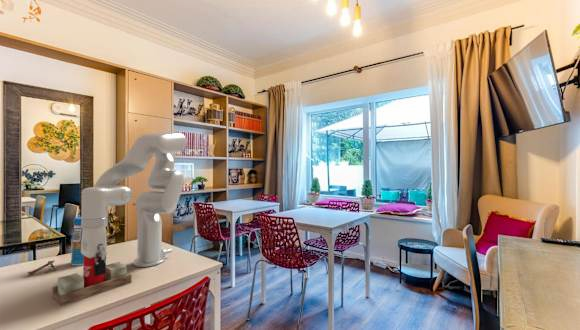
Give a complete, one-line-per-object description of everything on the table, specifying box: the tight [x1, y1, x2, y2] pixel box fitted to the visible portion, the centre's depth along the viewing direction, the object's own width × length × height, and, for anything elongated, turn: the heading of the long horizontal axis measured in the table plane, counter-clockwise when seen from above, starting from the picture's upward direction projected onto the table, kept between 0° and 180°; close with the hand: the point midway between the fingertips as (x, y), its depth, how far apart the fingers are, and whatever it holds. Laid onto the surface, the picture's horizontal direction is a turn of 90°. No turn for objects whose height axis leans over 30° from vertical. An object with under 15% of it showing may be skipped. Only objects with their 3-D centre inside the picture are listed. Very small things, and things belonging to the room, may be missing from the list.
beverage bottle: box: [70, 216, 84, 267], centre depth 115 cm, size 8×8×20 cm
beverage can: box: [82, 254, 105, 288], centre depth 92 cm, size 6×6×12 cm
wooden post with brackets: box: [27, 260, 57, 277], centre depth 104 cm, size 2×8×4 cm, turn 134°
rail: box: [52, 261, 132, 306], centre depth 92 cm, size 20×10×6 cm, turn 145°
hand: (94, 271), depth 92 cm, fingers open, 9 cm apart
